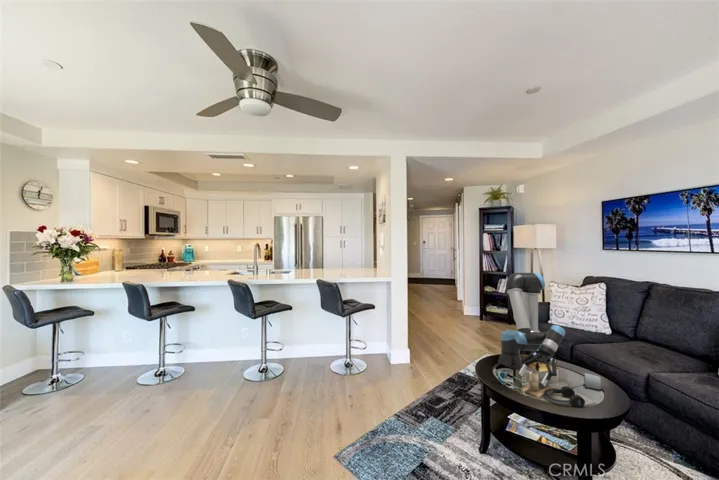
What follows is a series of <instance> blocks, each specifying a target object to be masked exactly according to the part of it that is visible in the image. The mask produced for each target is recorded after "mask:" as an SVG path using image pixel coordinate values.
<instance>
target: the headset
mask: <svg viewBox="0 0 719 480" xmlns="http://www.w3.org/2000/svg"><path fill="white" fill-rule="evenodd" d="M581 386H583V387H584V386H586V384H584V383H583V384H581V385H577V386H574V387H571V386H567V385H565V386H562V387H561V388H560V389H559V388H558V389H556V388H554V389H548V390H546V391H545V392H544V395H545V396H544V399H545V400H546V401H548V402H549V403H551V404H554V405H558V406H570V405H573V406H574V407H576V408H583V407H584V406H585V404H586V400H585V399H584V397H582V396H581V395H579V394H576V392H575V391H574V389H575V388H578V387H581ZM552 394H560V395H562V397H564V398H566V399H567V400H564V399H558V398H557V399H556V398H553V397H551V396H549V395H552Z"/></svg>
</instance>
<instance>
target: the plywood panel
mask: <svg viewBox="0 0 719 480" xmlns="http://www.w3.org/2000/svg"><path fill="white" fill-rule="evenodd" d="M548 389H555V387H554V386H550V385H549V386H548V387H546V388H545V389H543V388H540V387H539V391H538V392H534V391H531V390H530V383H529V384H528V385H527V384H526V386H523V387H521V389H519V391H520V392H521V393H522V394H525V395H528V396H530V397H533V398H535V399H538V400H540V399H542V398H543V397H545V395H544V392H545V391H546V390H548Z"/></svg>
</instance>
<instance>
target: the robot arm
mask: <svg viewBox="0 0 719 480" xmlns="http://www.w3.org/2000/svg"><path fill="white" fill-rule="evenodd" d="M545 287H546V283H545V279H544V277H543V275H541V273H538V272H514V273H512V274H510V275H509V276H508V277H507V280H506V283H505V290H506V294H508V296H509V300H510V305H511V309H512V312H513V316H514V321H515V325H516V329H517V330H513V329H507V330H503V331H502V332H501V335H500V355H499V357H498V363H499V362H500V363H501V364H502V365H504V366H506V367H509V368H508V369H510V368H513V369H512V370H519V372H518V374H519V376H521V377H523V375H524V374H525V373H526V370H527V369H528V366H529V365H532V364H535V363H542V364H543V365H545V367H546V369H547V372H546V373H545V375H544V377H543V379H542V380H543V381H542V384H543V385H544V386H545V385H546V384H547V382H550V381H551V379H552V377H555V378H556V377H557V376H558V372H557V363H558V361H557V359H556V358H555V357H554V356H555V354H556V353H557V350H558V348H559V346H560V344H561V342H562V341H563V339H564V338H565V335H566V330H565V328H563V326H562V327H561V326H560V325H558V324H553V325H551V326H550V328H549V329H548V330H547V331H544V332H543V331H540V330H539V295H540V294H542V291H543V290H545ZM522 293H523V294H522ZM522 295H523V296H522ZM520 351H522V352H523V351H524V352H525V351H526V352H527V351H528V352H530V353H529V354H527V355H526V356H525V357H523V358H521V354H520V353H521V352H520ZM550 362H551V366H550ZM506 367H505V368H506Z"/></svg>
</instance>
